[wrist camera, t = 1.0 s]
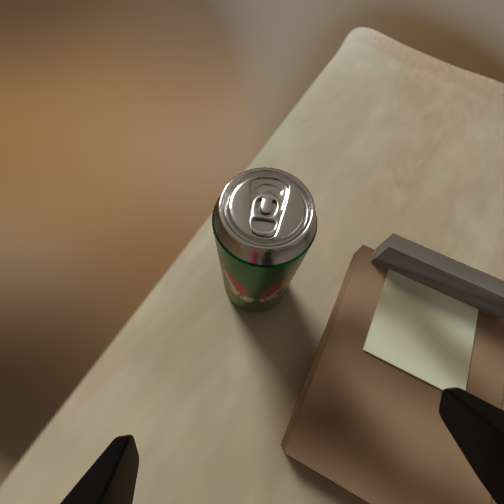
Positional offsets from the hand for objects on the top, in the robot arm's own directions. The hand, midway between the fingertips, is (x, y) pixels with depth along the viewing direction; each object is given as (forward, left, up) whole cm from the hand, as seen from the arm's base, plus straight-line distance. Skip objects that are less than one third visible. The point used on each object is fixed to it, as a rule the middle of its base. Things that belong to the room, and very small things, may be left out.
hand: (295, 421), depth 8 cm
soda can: (+8, -2, -13) cm, 16 cm away
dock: (-2, -10, -13) cm, 17 cm away
